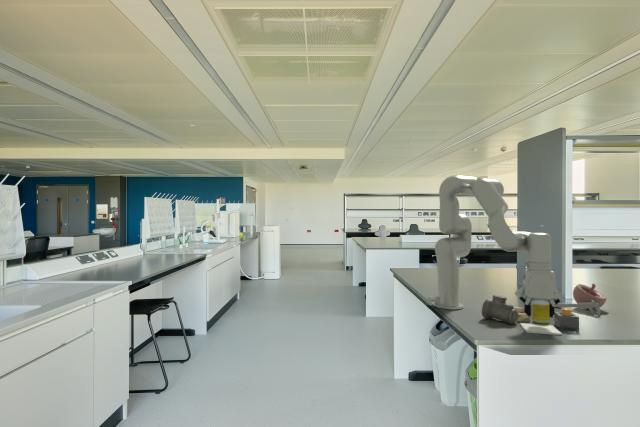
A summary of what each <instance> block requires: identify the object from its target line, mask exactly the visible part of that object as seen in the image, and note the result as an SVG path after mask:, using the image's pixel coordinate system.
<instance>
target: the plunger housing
mask: <svg viewBox="0 0 640 427" xmlns="http://www.w3.org/2000/svg"><path fill="white" fill-rule="evenodd" d="M553 318H554V325H553V326H554V327H555V328H556V329H558V330H559V331H574V332H580V317H579V316H578V315H576V314H575V313H574V312H571V316H564V315H561V312H560V311H554V315H553Z"/></svg>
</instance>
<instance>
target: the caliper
mask: <svg viewBox="0 0 640 427" xmlns="http://www.w3.org/2000/svg"><path fill="white" fill-rule="evenodd" d="M591 301H592V303H579V304H577V303H564V302H563V303H561V302H559V303H558V304H557V305H556V306H555V307H554V308H579V309H580V310H589V311H590V313H591V314H592V315H593V316H595V315H597V316H600V315H601V307H600V306H599V303H597V302H596V300H595V301H593V300H591ZM588 308H589V309H588ZM594 308H596V309H594ZM595 311H596V312H595ZM595 313H596V314H595Z"/></svg>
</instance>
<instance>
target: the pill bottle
mask: <svg viewBox="0 0 640 427" xmlns="http://www.w3.org/2000/svg"><path fill="white" fill-rule="evenodd" d="M529 305H530V316H529V322H528V323H529V324H533V325H536V326H549V325H551V324H550V321H551V320H550V318H551V317H550V303H549V301H548V299H532V298H531V300H530V302H529Z"/></svg>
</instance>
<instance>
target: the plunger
mask: <svg viewBox="0 0 640 427" xmlns="http://www.w3.org/2000/svg"><path fill="white" fill-rule="evenodd" d="M560 310H561V315H564V316H571V313H572V309H571V308H568V307H561V309H560Z"/></svg>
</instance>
